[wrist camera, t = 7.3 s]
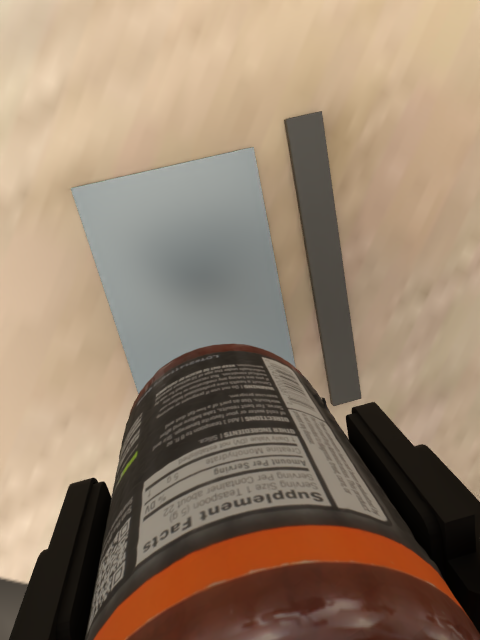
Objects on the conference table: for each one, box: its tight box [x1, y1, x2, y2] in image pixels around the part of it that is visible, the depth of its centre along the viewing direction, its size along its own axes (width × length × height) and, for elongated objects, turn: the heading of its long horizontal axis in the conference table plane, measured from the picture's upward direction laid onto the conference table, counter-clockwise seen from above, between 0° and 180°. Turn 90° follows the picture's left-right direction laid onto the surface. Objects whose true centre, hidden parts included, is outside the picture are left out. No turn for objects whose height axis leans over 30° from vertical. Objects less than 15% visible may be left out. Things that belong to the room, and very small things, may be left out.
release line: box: [284, 111, 361, 406], centre depth 27 cm, size 2×18×1 cm, turn 12°
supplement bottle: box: [85, 343, 480, 640], centre depth 8 cm, size 6×6×11 cm
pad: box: [71, 147, 296, 394], centre depth 27 cm, size 10×16×1 cm, turn 12°
